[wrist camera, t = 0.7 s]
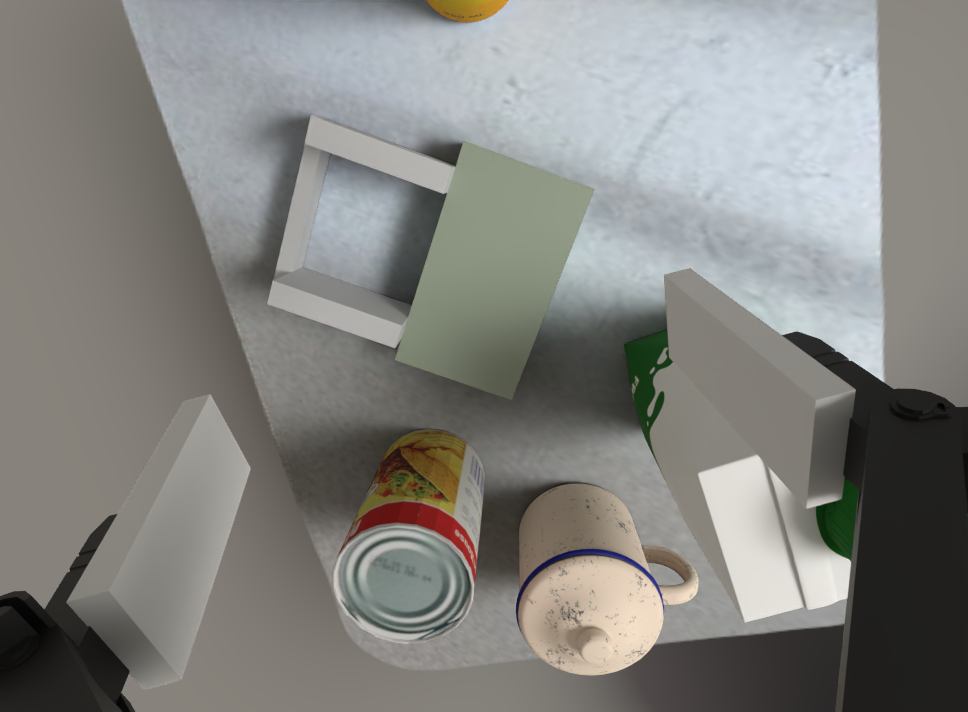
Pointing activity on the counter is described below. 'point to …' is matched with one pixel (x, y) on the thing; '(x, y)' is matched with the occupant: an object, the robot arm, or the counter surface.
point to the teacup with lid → (591, 582)
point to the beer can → (467, 9)
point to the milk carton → (738, 497)
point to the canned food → (414, 541)
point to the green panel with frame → (444, 258)
